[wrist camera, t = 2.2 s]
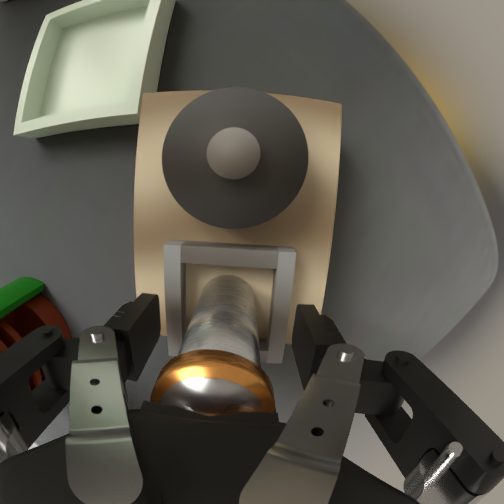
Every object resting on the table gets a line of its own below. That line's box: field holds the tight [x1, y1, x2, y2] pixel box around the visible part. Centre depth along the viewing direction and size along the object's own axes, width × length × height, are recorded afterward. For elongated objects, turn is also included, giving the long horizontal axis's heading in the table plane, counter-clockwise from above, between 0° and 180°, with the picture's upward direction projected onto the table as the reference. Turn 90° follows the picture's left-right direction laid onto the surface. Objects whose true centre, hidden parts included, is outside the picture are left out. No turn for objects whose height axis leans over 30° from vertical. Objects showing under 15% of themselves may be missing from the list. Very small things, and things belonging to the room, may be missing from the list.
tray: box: [13, 0, 176, 138], centre depth 13 cm, size 11×11×3 cm
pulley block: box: [134, 87, 342, 363], centre depth 14 cm, size 14×10×7 cm
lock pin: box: [150, 275, 276, 416], centre depth 10 cm, size 3×3×8 cm
